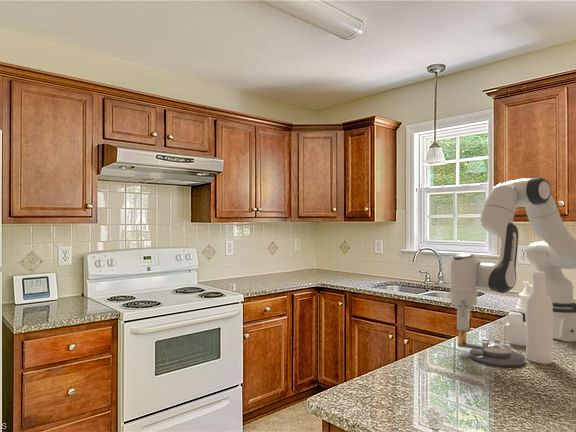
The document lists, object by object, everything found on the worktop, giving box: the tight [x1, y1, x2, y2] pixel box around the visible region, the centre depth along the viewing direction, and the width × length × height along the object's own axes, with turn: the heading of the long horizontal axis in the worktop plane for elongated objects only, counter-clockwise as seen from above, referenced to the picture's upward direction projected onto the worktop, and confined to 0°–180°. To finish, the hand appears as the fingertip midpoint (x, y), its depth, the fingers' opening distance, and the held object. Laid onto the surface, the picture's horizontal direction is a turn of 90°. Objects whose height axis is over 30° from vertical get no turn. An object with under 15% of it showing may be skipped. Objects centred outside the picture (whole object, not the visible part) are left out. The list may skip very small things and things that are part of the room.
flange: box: [469, 348, 526, 368], centre depth 148 cm, size 17×17×2 cm
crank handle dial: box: [457, 330, 512, 358], centre depth 150 cm, size 17×9×6 cm, turn 62°
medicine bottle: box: [503, 310, 526, 347], centre depth 168 cm, size 7×7×12 cm
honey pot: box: [515, 280, 533, 322], centre depth 209 cm, size 13×13×18 cm
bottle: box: [525, 271, 554, 365], centre depth 147 cm, size 8×8×30 cm
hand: (463, 337), depth 155 cm, fingers closed
